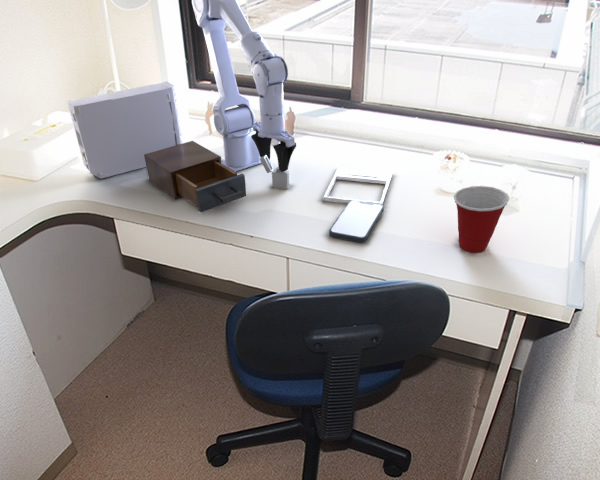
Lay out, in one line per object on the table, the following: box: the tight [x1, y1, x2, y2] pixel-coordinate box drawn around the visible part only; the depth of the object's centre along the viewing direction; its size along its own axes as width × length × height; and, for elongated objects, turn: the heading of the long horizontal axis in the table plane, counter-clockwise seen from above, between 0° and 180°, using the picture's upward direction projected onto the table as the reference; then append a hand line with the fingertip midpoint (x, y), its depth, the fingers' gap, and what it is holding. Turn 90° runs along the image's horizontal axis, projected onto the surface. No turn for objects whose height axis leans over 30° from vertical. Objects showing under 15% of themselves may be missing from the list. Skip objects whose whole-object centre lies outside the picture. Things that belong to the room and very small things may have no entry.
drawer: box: [174, 161, 247, 213], centre depth 136 cm, size 18×13×6 cm
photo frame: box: [322, 167, 393, 206], centre depth 142 cm, size 15×1×18 cm
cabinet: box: [144, 140, 222, 200], centre depth 145 cm, size 14×14×7 cm
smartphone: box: [328, 200, 385, 244], centre depth 127 cm, size 9×2×16 cm
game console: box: [66, 81, 183, 179], centre depth 150 cm, size 6×27×20 cm, turn 124°
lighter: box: [260, 155, 290, 190], centre depth 142 cm, size 7×2×8 cm, turn 74°
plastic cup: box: [453, 185, 510, 254], centre depth 116 cm, size 11×11×12 cm
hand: (274, 165), depth 141 cm, fingers open, 7 cm apart
